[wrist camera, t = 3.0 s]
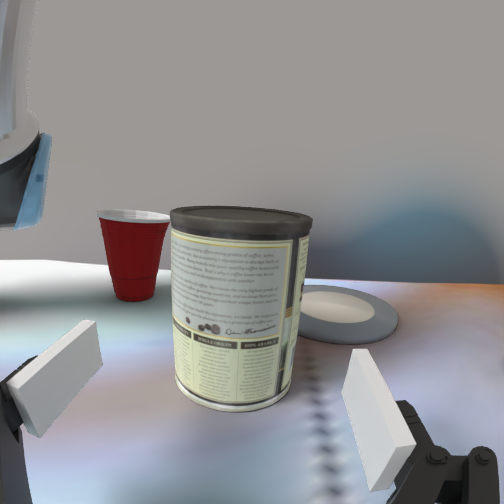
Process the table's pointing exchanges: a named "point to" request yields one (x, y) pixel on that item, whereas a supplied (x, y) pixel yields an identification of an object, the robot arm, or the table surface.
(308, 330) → the slate plate
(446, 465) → the robot arm
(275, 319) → the coffee can
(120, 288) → the plastic cup
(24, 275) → the table surface
